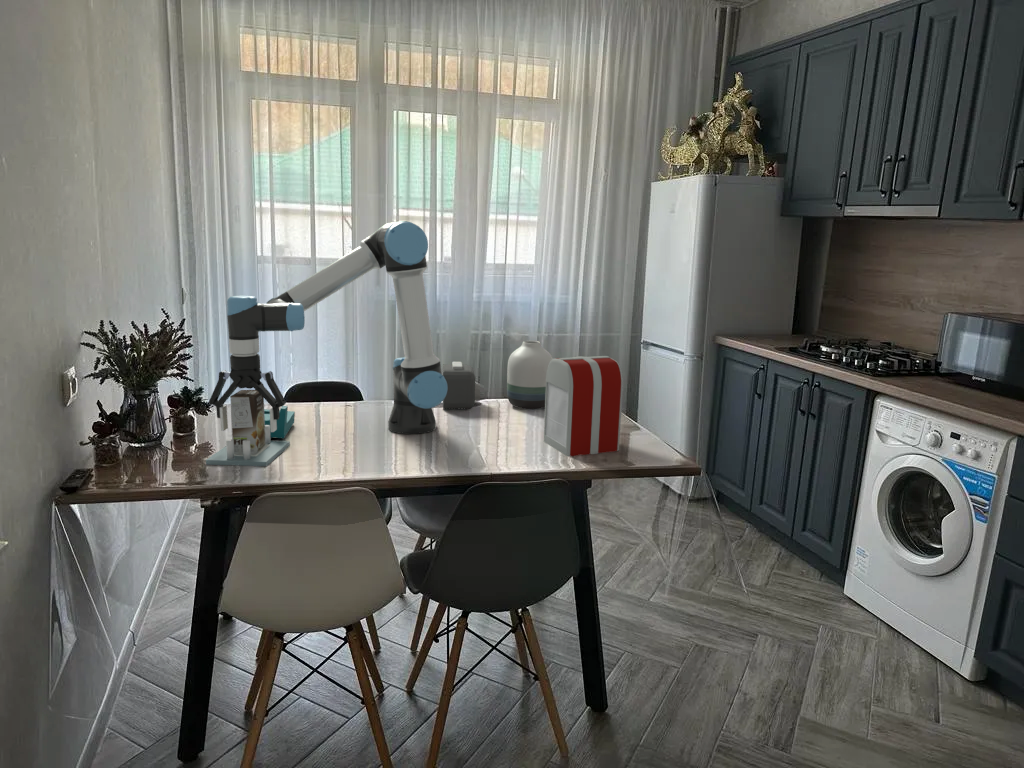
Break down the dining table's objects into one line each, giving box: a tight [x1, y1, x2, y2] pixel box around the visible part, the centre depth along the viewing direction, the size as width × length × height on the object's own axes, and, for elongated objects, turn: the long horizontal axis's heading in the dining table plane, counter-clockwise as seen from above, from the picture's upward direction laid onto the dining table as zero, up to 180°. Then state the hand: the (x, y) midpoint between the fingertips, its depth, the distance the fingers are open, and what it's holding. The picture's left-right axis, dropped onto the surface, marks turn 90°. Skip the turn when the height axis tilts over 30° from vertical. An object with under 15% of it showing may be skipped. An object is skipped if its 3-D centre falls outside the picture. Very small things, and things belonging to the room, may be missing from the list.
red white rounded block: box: [543, 355, 624, 457], centre depth 207 cm, size 16×18×27 cm
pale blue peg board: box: [205, 425, 291, 467], centre depth 193 cm, size 16×19×6 cm
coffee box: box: [229, 389, 266, 454], centre depth 192 cm, size 9×6×16 cm
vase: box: [506, 340, 554, 410], centre depth 255 cm, size 17×17×24 cm
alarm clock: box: [442, 361, 476, 410], centre depth 254 cm, size 16×11×16 cm
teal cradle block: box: [264, 405, 296, 439], centre depth 214 cm, size 18×11×10 cm, turn 8°
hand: (249, 430), depth 192 cm, fingers open, 13 cm apart
